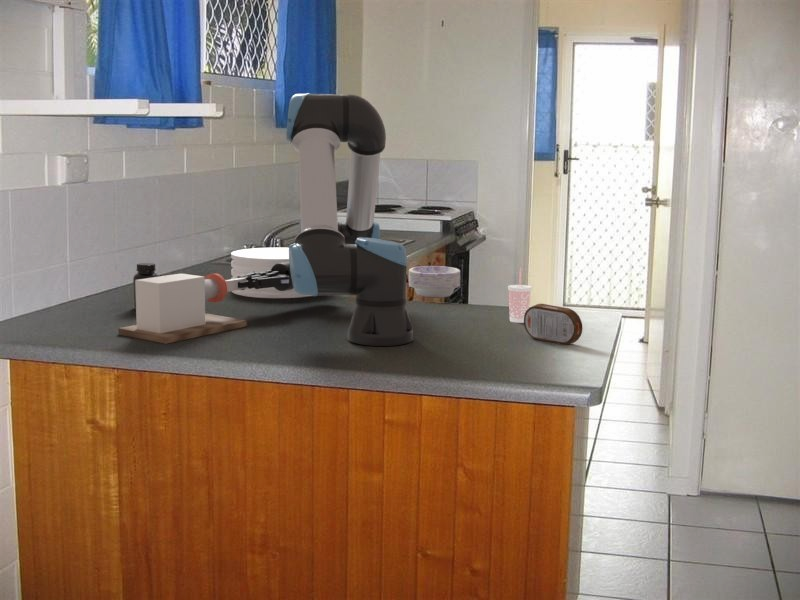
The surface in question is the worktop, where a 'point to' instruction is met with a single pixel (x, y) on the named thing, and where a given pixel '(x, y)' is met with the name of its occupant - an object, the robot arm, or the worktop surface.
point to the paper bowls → (434, 280)
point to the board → (186, 330)
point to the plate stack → (260, 270)
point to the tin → (553, 324)
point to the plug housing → (170, 302)
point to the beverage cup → (518, 300)
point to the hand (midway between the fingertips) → (226, 286)
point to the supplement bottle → (143, 276)
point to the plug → (215, 288)
